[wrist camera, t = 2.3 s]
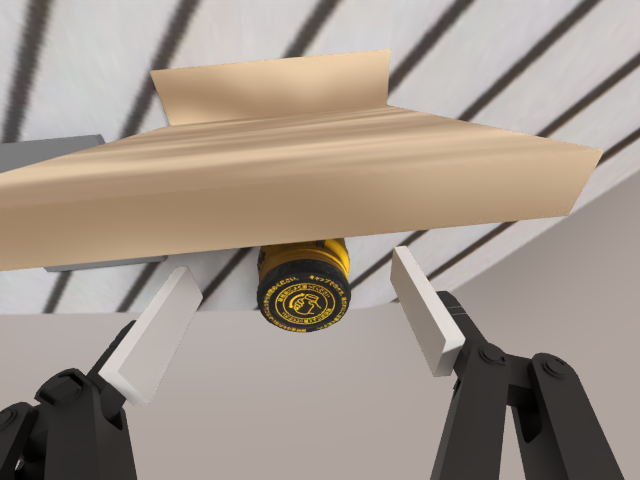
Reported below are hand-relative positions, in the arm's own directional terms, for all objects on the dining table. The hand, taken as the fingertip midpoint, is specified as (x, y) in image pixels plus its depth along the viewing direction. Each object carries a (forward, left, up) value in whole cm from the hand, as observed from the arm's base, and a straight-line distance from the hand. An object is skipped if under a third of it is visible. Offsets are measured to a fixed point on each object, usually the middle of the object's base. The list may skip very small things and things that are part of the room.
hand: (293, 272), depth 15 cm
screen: (-9, 0, -9) cm, 13 cm away
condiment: (0, 0, -9) cm, 9 cm away
